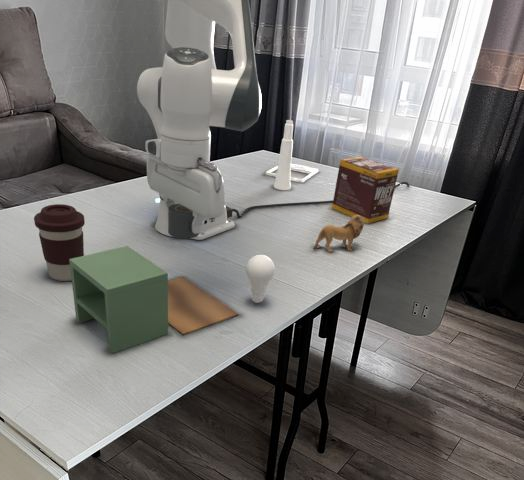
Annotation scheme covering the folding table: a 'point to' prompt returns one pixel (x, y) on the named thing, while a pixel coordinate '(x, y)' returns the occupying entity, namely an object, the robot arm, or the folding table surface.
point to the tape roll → (180, 221)
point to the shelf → (121, 295)
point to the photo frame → (297, 168)
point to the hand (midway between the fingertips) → (183, 225)
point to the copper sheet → (193, 307)
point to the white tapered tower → (285, 159)
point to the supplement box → (364, 188)
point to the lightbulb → (259, 275)
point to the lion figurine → (342, 233)
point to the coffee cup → (60, 238)
